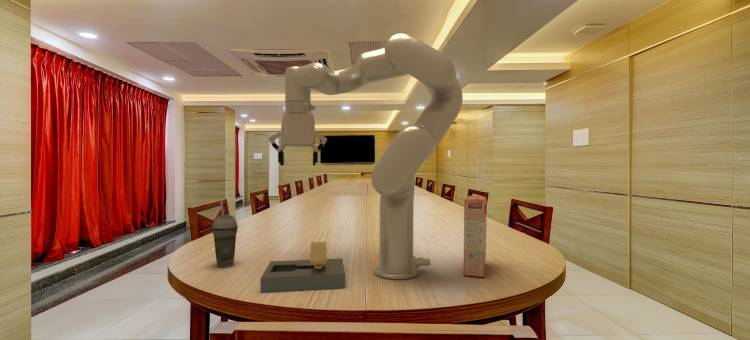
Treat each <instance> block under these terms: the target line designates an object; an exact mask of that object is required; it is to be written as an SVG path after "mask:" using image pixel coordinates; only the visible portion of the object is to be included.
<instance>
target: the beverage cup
mask: <svg viewBox="0 0 750 340" xmlns="http://www.w3.org/2000/svg"><path fill="white" fill-rule="evenodd" d="M219 201H220V208H221V209H220V210H221V214H220V215H218V216H217V217H216V218H215V219H214V220H213V222H212V225H211V226H212V227H211V231H212V235H213V242H214V250H215V251H214V252H215V259H216V261H215V262H216V267H217V268H219V269H223V268H225V269H226V268H231V267H233V266H234V261H235V253H236V241H237V233H238V227H239V225H238V222H237V220H236V218H235V217H234V216H233V215H231V214H229V213H228V214H227V213H224V204H223V199H219Z"/></svg>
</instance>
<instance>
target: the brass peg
mask: <svg viewBox="0 0 750 340" xmlns="http://www.w3.org/2000/svg"><path fill="white" fill-rule="evenodd" d="M326 259H327V241H311V243H310V260H311V265H314V269H318V268H323V265H326Z"/></svg>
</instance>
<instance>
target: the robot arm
mask: <svg viewBox="0 0 750 340" xmlns="http://www.w3.org/2000/svg"><path fill="white" fill-rule="evenodd" d="M284 76H285V77H284V82H285V83H284V87H285V88H284V89H285V90H284V91H285V95H284V97H285V98H284V99H285V101H284V102H285V103H284V105H285V106H284V108H285V112H283V113H282V117H281V118H282V119H281V125H280V131H279V132H277V133H275V134H273V135H271V136H269V137H268V140H269V142H270V144H271V146H272V148H273V149H275V150H276V151H277V159H278V160H277V162H278V164H279V165H280V166H284V165H285V153H284V150H285V149H286V148H287V147H310V148H312V150H313V152H312V165H313V166H317V165H316V164H318V163H319V152H320V151H321V150H322V148H324V146H325V144H326V142H327V141H328V138H327V137H326V136H324V135H322V134H320V133H319V132H316V126H315V116H314V113H312V111H316V105H313V104H312V102H311V99H312V98H311V96H312V95H311V90H315V91H318V92H319V93H322V94H324V95H326V96H335V95H340V94H345V93H351V92H353V91H356V90H358V89H361V88H362V87H366V85H368V84H370V83H375V82H379V81H380V82H381V81H383V80H389V79H395V78H398V77H403V76H410V77H412V78H413V79H416V80H417V81H419V82H420V83H422V84H424V86H425V88H426V89H427V91H428V93H429V94H430V96H431V99H430V102H429V103H428V105H426V107H425V108H424V109H423V111H422V113H421V114H420V116H419V117H418V119H417V120H416V121H415V123H414V124H409V125H407V126H405V127H403V128H402V129H400V131H399V130H398V132H397V133H396V135H395V136H394V137H393V139H392V140H391V142H390V143H389V145H388V146H387V148H386V149H385V150H384V152H383V154H382V155H381V156H380V158H379V159H378V161H377V162H376V164H375V165H374V167H373V169H372V172H371V176H370V177H371V179H370V181H371V185H372V187H373V189H374V190H375V192H376V193H377V194H379V195H380V199H379V264H376V265H375V266H374V268H373V269H374V271H373V272H374V274H375V275H376V276H378V277H380V278H384V279H389V280H406V279H411V278H414V277H417V276H418V275H419V273H420V266H423V267H424V266H425V267H426V266H429V267H430V266H431V259H430V258H424V257H421V256H420V257H416V256H415V255H414V201H415V199H414V198H415V197H414V196H415V185H416V184H415V183H416V181H415V180H416V179H415V174H416V173H417V172H418V170H419V169H420V167H421V166H422V164H423V163H424V162H425V161H427V160H429V159H430V158H431V157H432V156H433V154H434V153H435V150H436V149H437V147H438V146H439V144H440V142H441V141H442V140H443V139H444V137H445V135H446V134H447V133H448V131H449V130H450V128H451V127H452V125H453V124H454V122H455V120H456V119H457V117H458V116H459V114H460V113H461V112H460V111H461V109H462V106H463V100H464V99H463V90H462V86H461V85H460V83H459V80H458V77H457V72H456V67H455V64H454V62H453V61H452V59H451V58H450V57H449V56H447V55H446V54H444V53H443V52H441V51H440V50H438V49H436V48H434V47H432V46H431V45H429V44H427V43H425V42H424V41H423V40H420V39H418V38H417V37H416V36H413V35H412V34H410V33H406V32H400V33H395V34H392V35H391V36H390V37H389V38H388V39H387V41H386V42H385V45H384V47H382V48H378V49H372V50H370V51H365V52H362V53H361V54H360V55H359V57H358V59H357V61H356V62H355V63H354V64H353V65H352V66H348V67H347V68H343V69H339V70H338V69H337V70H332V69H331V68H329V67H328V66H327V65H326V64H324V63H321V62H311V63H308V64H305V65H301V66H298V65H297V66H295V65H294V66H288V67H287V68H286V69H285V73H284ZM279 138H280V145H278V144H277V143H276V140H277V139H279ZM316 138H317V139H319V140H321V141H320V143H319V145H318V146H316V145H315V144H316Z"/></svg>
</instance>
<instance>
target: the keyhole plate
mask: <svg viewBox="0 0 750 340" xmlns="http://www.w3.org/2000/svg"><path fill="white" fill-rule="evenodd" d="M343 259H344V258H326V265H323V268H318V269H314V265H311V259H295V260H294V259H292V260H274V261H273V260H272V261H271V260H270V262H269V263H268V265H267V267H266V268H265V270H264V271H263V273H262V275H261V276H260V278H259V279H260V281H259V282H260V283H259V284H260V285H259V286H260V288H259V289H260V293H278V292H280V293H281V292H296V291H297V292H298V291H313V290H314V291H315V290H317V291H320V290H332V289H333V290H334V289H335V290H336V289H337V290H339V289H345V287H346V276H345V275H346V273H345V267H344V260H343Z"/></svg>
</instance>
